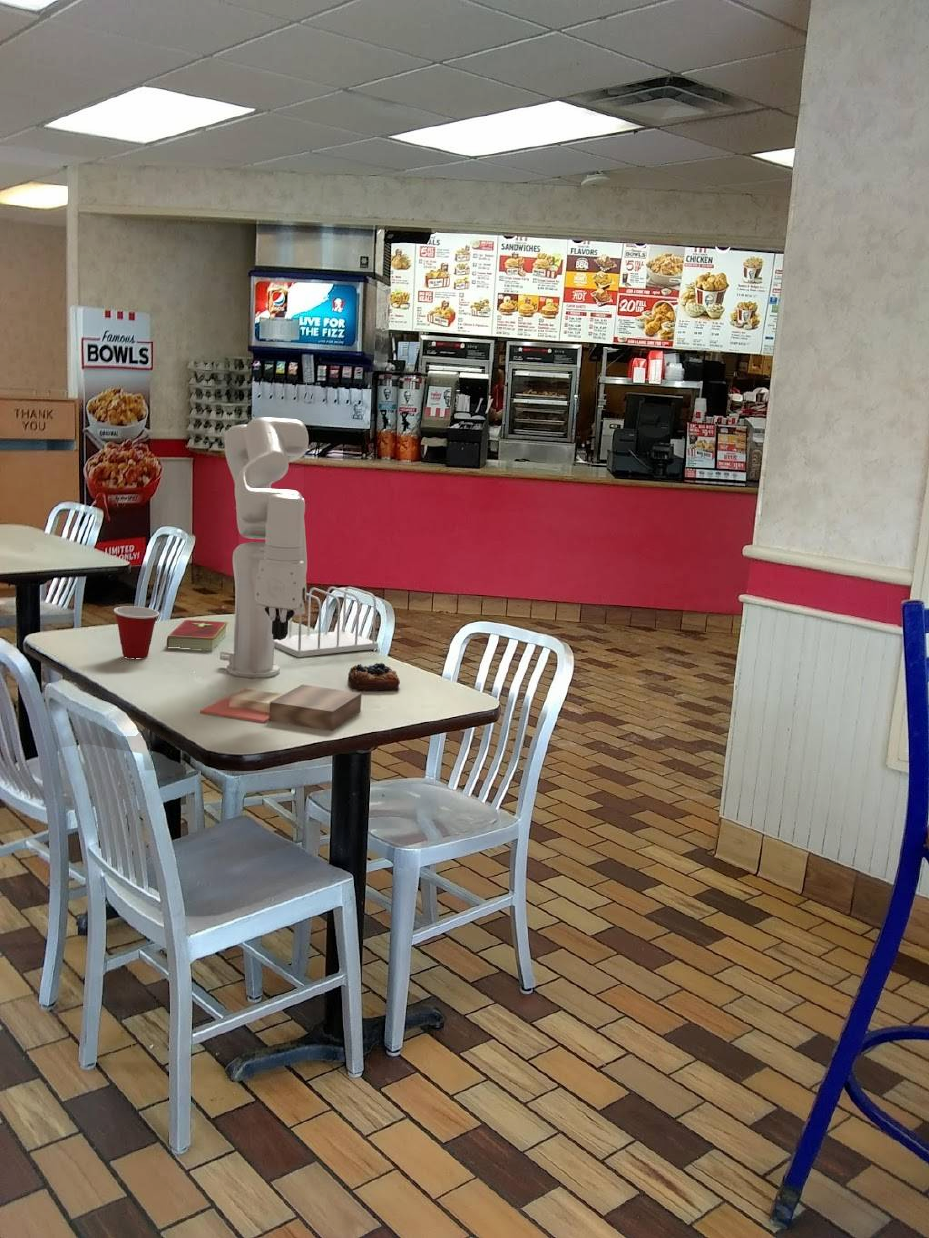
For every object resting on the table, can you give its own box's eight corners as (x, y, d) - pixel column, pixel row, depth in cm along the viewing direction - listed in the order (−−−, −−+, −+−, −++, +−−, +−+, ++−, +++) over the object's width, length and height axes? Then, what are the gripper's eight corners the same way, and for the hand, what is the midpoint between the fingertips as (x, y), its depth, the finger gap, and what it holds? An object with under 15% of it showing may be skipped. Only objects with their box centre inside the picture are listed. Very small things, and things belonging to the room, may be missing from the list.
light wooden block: (229, 706, 228) (229, 697, 227) (246, 697, 235) (246, 688, 235) (276, 713, 225) (277, 704, 225) (292, 704, 233) (292, 695, 232)
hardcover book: (166, 650, 276) (166, 634, 276) (183, 633, 297) (184, 618, 296) (213, 653, 277) (213, 637, 276) (227, 635, 298) (227, 621, 297)
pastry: (343, 681, 258) (344, 657, 257) (391, 680, 262) (393, 657, 261) (353, 693, 248) (355, 669, 247) (403, 692, 252) (405, 668, 251)
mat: (200, 712, 224) (200, 710, 224) (244, 690, 243) (245, 688, 243) (264, 722, 220) (264, 720, 220) (304, 699, 239) (305, 697, 239)
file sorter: (345, 637, 305) (347, 583, 302) (378, 650, 292) (381, 594, 289) (266, 644, 290) (267, 587, 287) (297, 658, 277) (299, 599, 274)
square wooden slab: (269, 720, 222) (269, 701, 221) (301, 701, 237) (302, 684, 236) (331, 730, 218) (332, 711, 217) (360, 710, 233) (361, 693, 233)
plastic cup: (147, 664, 259) (147, 615, 257) (105, 659, 261) (105, 611, 259) (166, 654, 270) (167, 608, 268) (126, 650, 272) (126, 604, 269)
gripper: (242, 551, 222) (239, 637, 226) (308, 560, 218) (304, 647, 222) (258, 547, 229) (255, 630, 233) (323, 555, 225) (319, 640, 229)
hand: (279, 638), depth 227 cm, fingers closed
